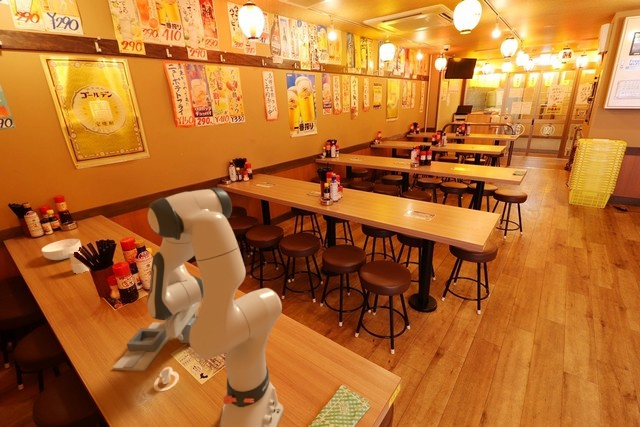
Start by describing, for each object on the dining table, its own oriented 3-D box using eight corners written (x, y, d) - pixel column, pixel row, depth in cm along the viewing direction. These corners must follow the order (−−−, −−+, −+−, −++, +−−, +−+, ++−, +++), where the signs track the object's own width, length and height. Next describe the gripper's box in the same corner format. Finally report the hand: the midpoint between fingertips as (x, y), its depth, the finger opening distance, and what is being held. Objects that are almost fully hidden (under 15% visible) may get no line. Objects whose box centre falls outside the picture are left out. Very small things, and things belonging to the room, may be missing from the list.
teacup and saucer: (164, 369, 109) (161, 361, 108) (184, 371, 108) (182, 362, 107) (148, 391, 101) (145, 382, 100) (170, 393, 100) (168, 384, 99)
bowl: (90, 251, 205) (87, 239, 202) (60, 265, 187) (55, 253, 185) (69, 248, 211) (65, 237, 208) (38, 262, 193) (33, 250, 190)
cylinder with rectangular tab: (69, 273, 177) (62, 255, 173) (83, 266, 185) (77, 248, 181) (82, 274, 175) (76, 256, 171) (95, 266, 184) (89, 249, 180)
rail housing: (144, 371, 109) (141, 361, 107) (113, 369, 110) (109, 360, 108) (179, 324, 131) (177, 316, 129) (153, 324, 132) (150, 315, 131)
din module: (194, 343, 120) (190, 324, 117) (179, 342, 121) (174, 324, 118) (199, 335, 124) (195, 317, 121) (184, 335, 125) (179, 317, 122)
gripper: (174, 319, 106) (181, 350, 111) (200, 286, 126) (206, 313, 130) (157, 319, 107) (165, 349, 112) (186, 286, 126) (192, 313, 131)
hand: (187, 330), depth 121 cm, fingers open, 8 cm apart
